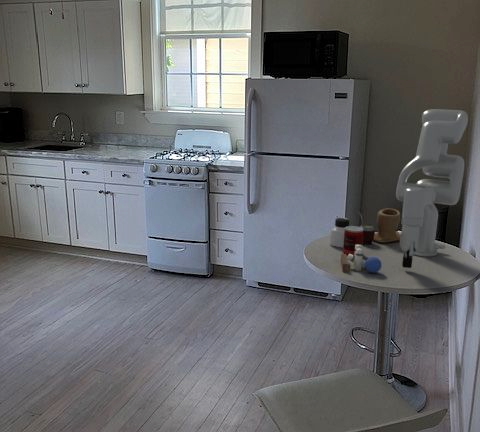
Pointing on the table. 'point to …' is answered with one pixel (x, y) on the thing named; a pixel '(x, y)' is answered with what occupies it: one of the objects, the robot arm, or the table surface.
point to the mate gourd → (367, 233)
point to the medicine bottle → (338, 232)
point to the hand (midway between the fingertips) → (406, 266)
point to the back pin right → (357, 248)
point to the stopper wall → (344, 262)
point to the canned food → (352, 239)
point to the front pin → (353, 258)
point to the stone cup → (387, 225)
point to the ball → (373, 264)
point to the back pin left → (358, 259)
